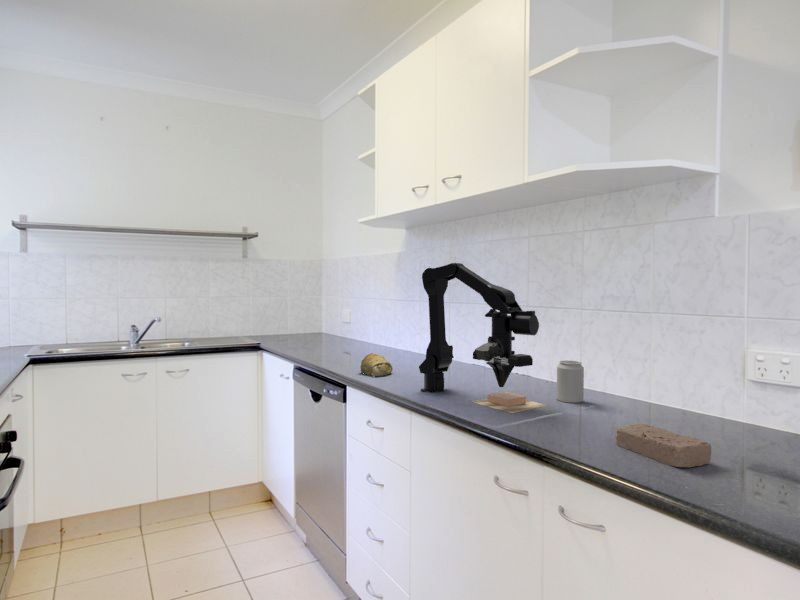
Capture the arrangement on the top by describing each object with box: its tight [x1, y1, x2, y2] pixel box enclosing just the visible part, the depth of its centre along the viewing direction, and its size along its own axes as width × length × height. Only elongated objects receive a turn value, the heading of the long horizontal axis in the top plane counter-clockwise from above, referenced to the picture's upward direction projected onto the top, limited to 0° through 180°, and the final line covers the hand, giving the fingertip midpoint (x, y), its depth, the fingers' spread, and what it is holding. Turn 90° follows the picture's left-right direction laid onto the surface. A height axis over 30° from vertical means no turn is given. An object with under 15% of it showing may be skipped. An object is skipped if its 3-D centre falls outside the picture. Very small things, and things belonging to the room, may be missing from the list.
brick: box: [615, 422, 712, 468], centre depth 102 cm, size 17×8×5 cm, turn 22°
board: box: [470, 397, 550, 414], centre depth 142 cm, size 16×15×1 cm
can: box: [556, 360, 585, 404], centre depth 146 cm, size 8×8×12 cm
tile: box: [487, 391, 527, 407], centre depth 143 cm, size 2×7×8 cm
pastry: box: [360, 352, 393, 377], centre depth 193 cm, size 14×12×8 cm
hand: (501, 386), depth 145 cm, fingers closed
